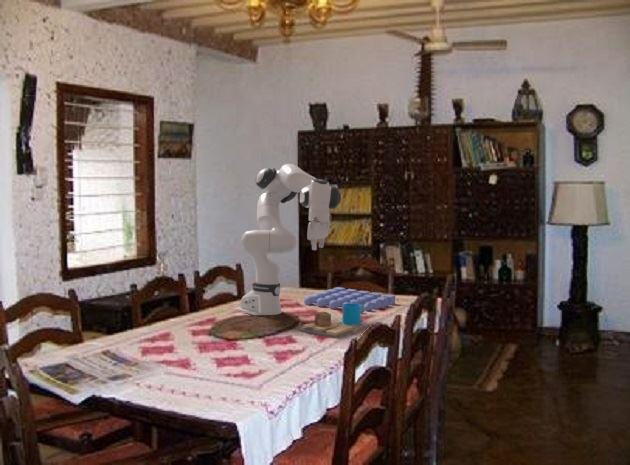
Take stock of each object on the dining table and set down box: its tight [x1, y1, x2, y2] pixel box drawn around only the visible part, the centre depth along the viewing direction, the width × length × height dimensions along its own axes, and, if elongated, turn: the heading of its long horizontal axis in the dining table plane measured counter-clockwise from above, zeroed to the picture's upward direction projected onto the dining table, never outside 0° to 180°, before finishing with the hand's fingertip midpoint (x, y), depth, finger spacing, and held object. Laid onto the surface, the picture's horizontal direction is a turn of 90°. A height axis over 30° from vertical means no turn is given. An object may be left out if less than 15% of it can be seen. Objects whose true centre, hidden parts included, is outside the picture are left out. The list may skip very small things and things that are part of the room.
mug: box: [341, 303, 362, 326], centre depth 314 cm, size 12×8×8 cm
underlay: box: [299, 324, 354, 339], centre depth 294 cm, size 18×14×2 cm
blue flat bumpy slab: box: [303, 286, 396, 314], centre depth 354 cm, size 35×34×5 cm
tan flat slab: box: [302, 320, 341, 333], centre depth 296 cm, size 11×12×1 cm
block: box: [314, 311, 332, 327], centre depth 295 cm, size 5×5×5 cm
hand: (317, 248), depth 300 cm, fingers open, 8 cm apart
